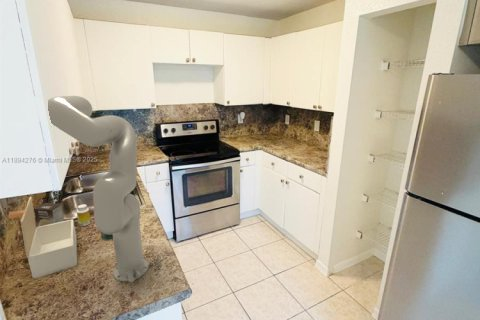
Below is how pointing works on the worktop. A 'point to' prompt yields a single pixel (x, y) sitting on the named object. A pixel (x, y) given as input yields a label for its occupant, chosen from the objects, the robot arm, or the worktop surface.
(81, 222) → the supplement bottle
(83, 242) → the worktop surface
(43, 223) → the coffee box
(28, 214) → the lid flap
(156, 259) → the worktop surface
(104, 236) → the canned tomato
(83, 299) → the worktop surface
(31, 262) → the carton
